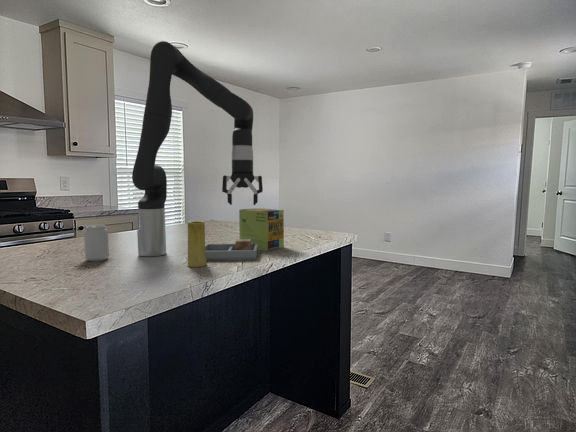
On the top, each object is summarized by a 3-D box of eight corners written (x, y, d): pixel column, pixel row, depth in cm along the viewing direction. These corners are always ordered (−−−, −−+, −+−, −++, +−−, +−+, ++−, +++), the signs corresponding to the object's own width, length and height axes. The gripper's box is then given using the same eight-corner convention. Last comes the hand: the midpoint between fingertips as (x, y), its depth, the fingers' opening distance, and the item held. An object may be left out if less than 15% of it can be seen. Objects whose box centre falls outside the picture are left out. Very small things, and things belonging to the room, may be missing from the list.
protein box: (268, 251, 150) (267, 211, 148) (239, 247, 159) (238, 209, 157) (284, 247, 158) (284, 209, 156) (256, 243, 167) (255, 207, 166)
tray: (198, 260, 134) (198, 251, 133) (206, 252, 148) (206, 243, 148) (255, 260, 134) (255, 250, 134) (257, 251, 149) (257, 243, 148)
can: (99, 262, 132) (97, 227, 131) (80, 261, 134) (78, 226, 133) (113, 257, 140) (112, 224, 138) (95, 257, 141) (93, 224, 140)
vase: (209, 263, 130) (208, 220, 128) (203, 267, 124) (202, 223, 122) (191, 263, 130) (190, 220, 129) (184, 267, 124) (183, 223, 123)
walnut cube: (235, 255, 139) (235, 241, 138) (237, 252, 144) (236, 239, 143) (249, 255, 139) (249, 241, 138) (250, 252, 144) (250, 239, 143)
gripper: (220, 158, 134) (221, 205, 135) (262, 158, 134) (262, 205, 136) (223, 159, 141) (224, 203, 143) (262, 159, 142) (262, 204, 143)
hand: (242, 204), depth 139 cm, fingers open, 8 cm apart
